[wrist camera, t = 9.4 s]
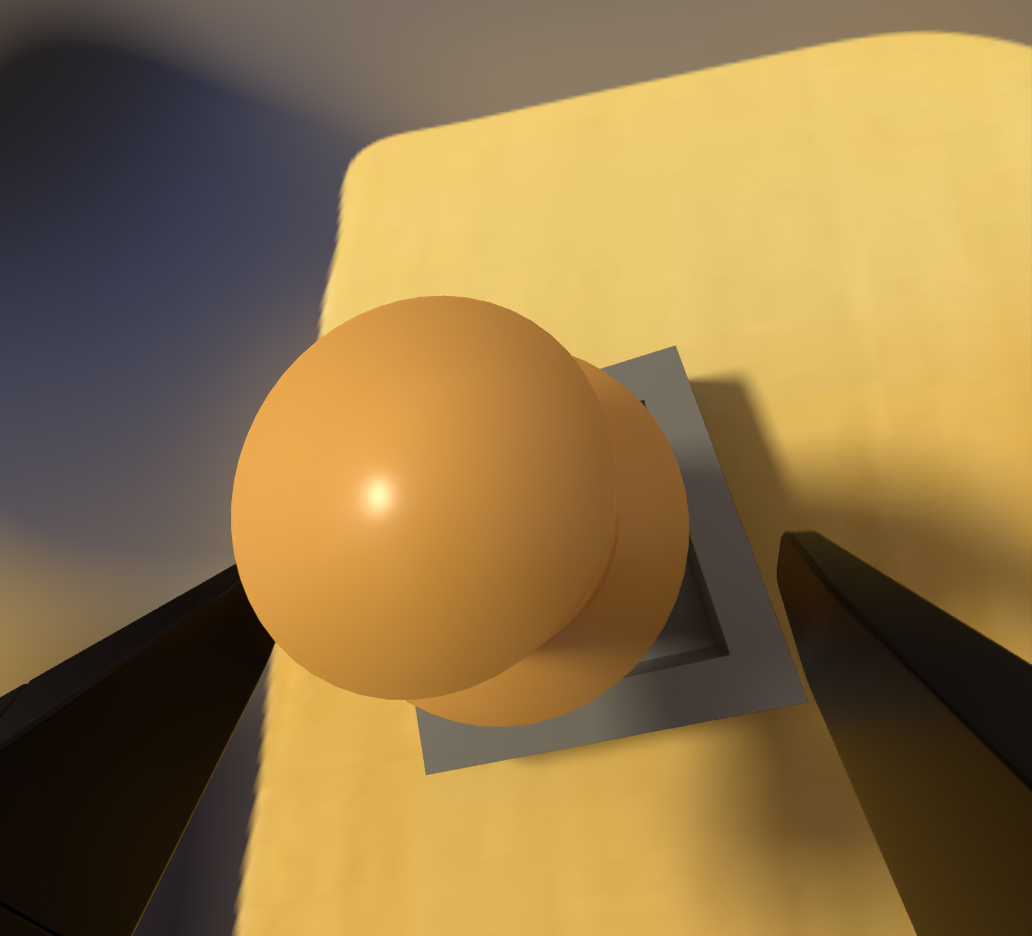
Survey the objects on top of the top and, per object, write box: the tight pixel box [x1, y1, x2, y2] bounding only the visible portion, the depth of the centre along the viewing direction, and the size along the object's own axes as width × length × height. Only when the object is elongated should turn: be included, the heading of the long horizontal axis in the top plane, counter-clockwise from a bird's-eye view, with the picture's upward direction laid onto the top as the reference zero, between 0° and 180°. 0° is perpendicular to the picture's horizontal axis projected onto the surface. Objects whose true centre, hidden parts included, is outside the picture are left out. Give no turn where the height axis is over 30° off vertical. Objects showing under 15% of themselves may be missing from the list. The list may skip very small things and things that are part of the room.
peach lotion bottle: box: [231, 296, 689, 727], centre depth 11 cm, size 6×6×13 cm
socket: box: [415, 346, 808, 775], centre depth 16 cm, size 11×11×3 cm
